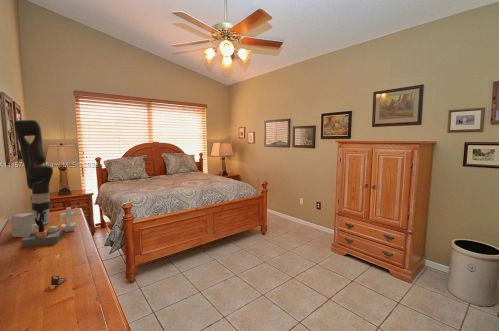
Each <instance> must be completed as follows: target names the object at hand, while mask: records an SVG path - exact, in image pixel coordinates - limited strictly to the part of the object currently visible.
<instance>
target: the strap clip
mask: <svg viewBox="0 0 499 331" xmlns="http://www.w3.org/2000/svg"><path fill="white" fill-rule="evenodd" d="M55 277H56V278H55ZM60 279H64V280H60ZM66 279H68V278H65V277H60V275H55V274H54V275H52V276H51V278H50V286H51V285H57V286H59V285H60V284H59V283H61V284H63V283H64V282H63V281H65V280H66ZM66 281H67V280H66ZM66 281H65V282H66ZM62 282H63V283H62ZM58 284H59V285H58Z"/></svg>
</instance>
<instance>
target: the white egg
mask: <svg viewBox="0 0 499 331" xmlns="http://www.w3.org/2000/svg"><path fill="white" fill-rule="evenodd" d="M37 231H39V226H37V224H33V225H32V235H37Z"/></svg>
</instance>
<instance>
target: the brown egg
mask: <svg viewBox="0 0 499 331" xmlns="http://www.w3.org/2000/svg"><path fill="white" fill-rule="evenodd" d="M47 230H48V229H44V231H43V232H39V231H37V238H42V237H47Z"/></svg>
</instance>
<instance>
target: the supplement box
mask: <svg viewBox="0 0 499 331" xmlns="http://www.w3.org/2000/svg"><path fill="white" fill-rule="evenodd" d="M33 224H34V213H31V212H22V213H21V212H20V213H18V214H15V215H11V236H12V237H14V238H25V237H26V235H27V234H28V233H29V232H32V225H33Z"/></svg>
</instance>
